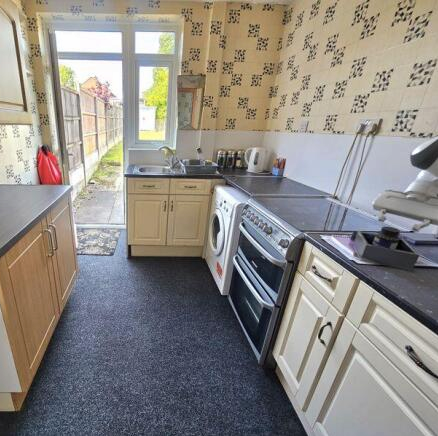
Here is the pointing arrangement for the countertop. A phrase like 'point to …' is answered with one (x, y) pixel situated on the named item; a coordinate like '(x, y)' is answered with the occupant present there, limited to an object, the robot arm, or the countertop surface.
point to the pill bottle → (387, 238)
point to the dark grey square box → (385, 252)
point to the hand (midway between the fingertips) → (396, 225)
